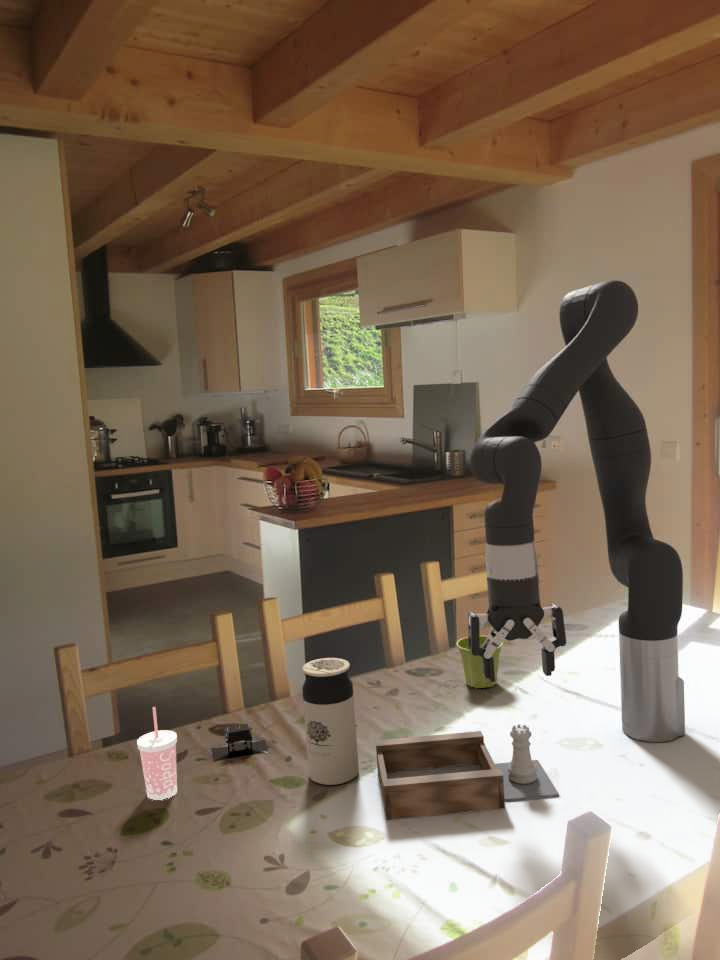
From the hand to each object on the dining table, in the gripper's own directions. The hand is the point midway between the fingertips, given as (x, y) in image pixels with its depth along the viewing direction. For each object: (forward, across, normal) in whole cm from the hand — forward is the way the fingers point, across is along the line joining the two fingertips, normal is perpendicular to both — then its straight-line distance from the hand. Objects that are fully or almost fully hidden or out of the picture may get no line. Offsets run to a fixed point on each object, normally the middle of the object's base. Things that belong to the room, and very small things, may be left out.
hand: (519, 677), depth 117 cm
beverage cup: (+15, +56, -7) cm, 58 cm away
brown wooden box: (+16, +14, 0) cm, 21 cm away
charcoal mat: (+16, 0, 0) cm, 16 cm away
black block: (+16, +45, -20) cm, 52 cm away
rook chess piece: (+16, 0, 0) cm, 16 cm away
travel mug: (+16, +29, -8) cm, 34 cm away
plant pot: (+17, -2, -41) cm, 44 cm away
